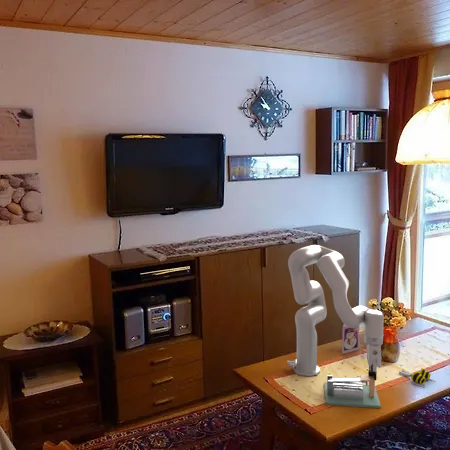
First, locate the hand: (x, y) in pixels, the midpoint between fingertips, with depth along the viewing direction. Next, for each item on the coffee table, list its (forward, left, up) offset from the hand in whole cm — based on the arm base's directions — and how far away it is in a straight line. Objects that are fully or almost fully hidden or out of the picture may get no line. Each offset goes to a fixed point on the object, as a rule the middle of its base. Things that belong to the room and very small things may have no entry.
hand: (372, 379), depth 217 cm
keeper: (-3, -4, -5) cm, 7 cm away
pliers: (+21, +17, -7) cm, 28 cm away
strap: (-11, -4, -1) cm, 11 cm away
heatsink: (-12, -4, -5) cm, 13 cm away
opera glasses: (+24, +15, -6) cm, 29 cm away
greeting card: (-7, +46, -6) cm, 47 cm away
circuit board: (-9, -4, -6) cm, 12 cm away
